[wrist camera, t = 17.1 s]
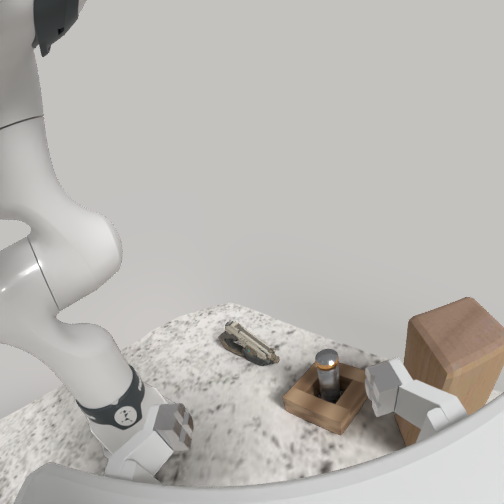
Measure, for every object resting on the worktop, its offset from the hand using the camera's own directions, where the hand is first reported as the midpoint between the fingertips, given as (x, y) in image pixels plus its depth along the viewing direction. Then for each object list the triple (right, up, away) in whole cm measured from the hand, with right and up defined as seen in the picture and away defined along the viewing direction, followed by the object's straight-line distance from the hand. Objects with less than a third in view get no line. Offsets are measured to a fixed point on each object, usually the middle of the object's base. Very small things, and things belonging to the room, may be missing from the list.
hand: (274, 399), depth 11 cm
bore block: (+12, -19, +30) cm, 37 cm away
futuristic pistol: (-1, -16, +46) cm, 49 cm away
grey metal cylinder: (+12, -19, +30) cm, 37 cm away
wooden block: (+26, -20, +18) cm, 37 cm away
